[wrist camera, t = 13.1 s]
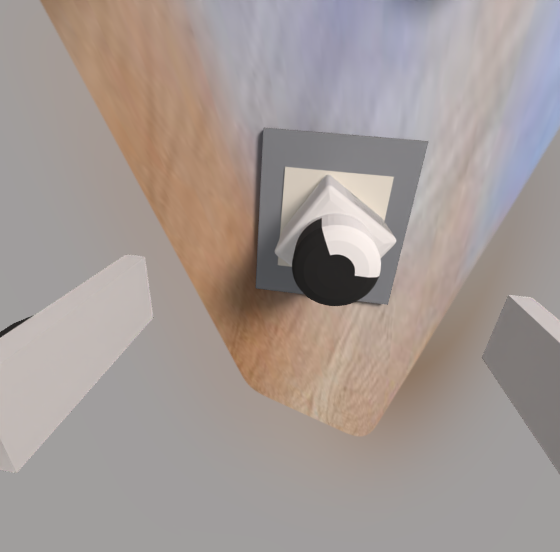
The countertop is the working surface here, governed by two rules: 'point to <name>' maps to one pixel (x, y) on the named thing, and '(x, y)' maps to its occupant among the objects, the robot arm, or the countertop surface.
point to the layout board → (346, 170)
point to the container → (335, 245)
